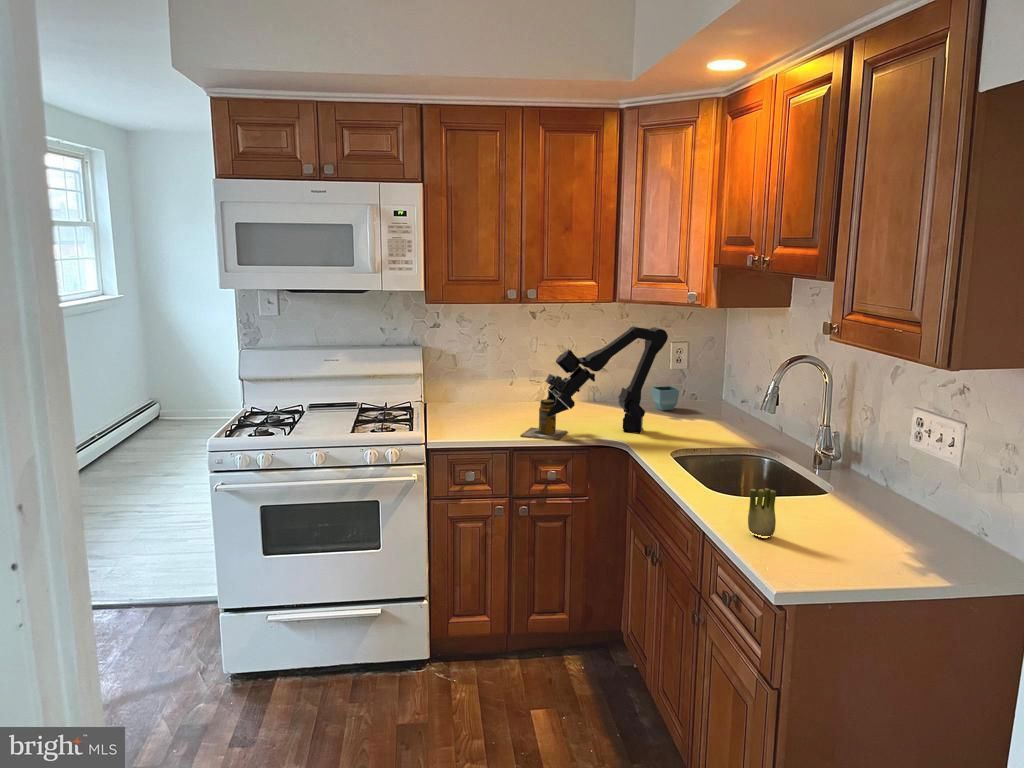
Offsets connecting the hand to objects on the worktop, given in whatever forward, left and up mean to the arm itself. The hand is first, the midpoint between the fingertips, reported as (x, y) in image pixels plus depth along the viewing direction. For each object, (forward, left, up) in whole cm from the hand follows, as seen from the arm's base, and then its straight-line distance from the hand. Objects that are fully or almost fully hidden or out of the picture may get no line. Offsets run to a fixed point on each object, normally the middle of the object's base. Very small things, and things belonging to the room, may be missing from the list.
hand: (544, 412), depth 279 cm
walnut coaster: (0, 0, -8) cm, 8 cm away
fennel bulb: (-78, +74, -8) cm, 108 cm away
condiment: (0, 0, -8) cm, 8 cm away
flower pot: (-34, -58, -8) cm, 68 cm away
